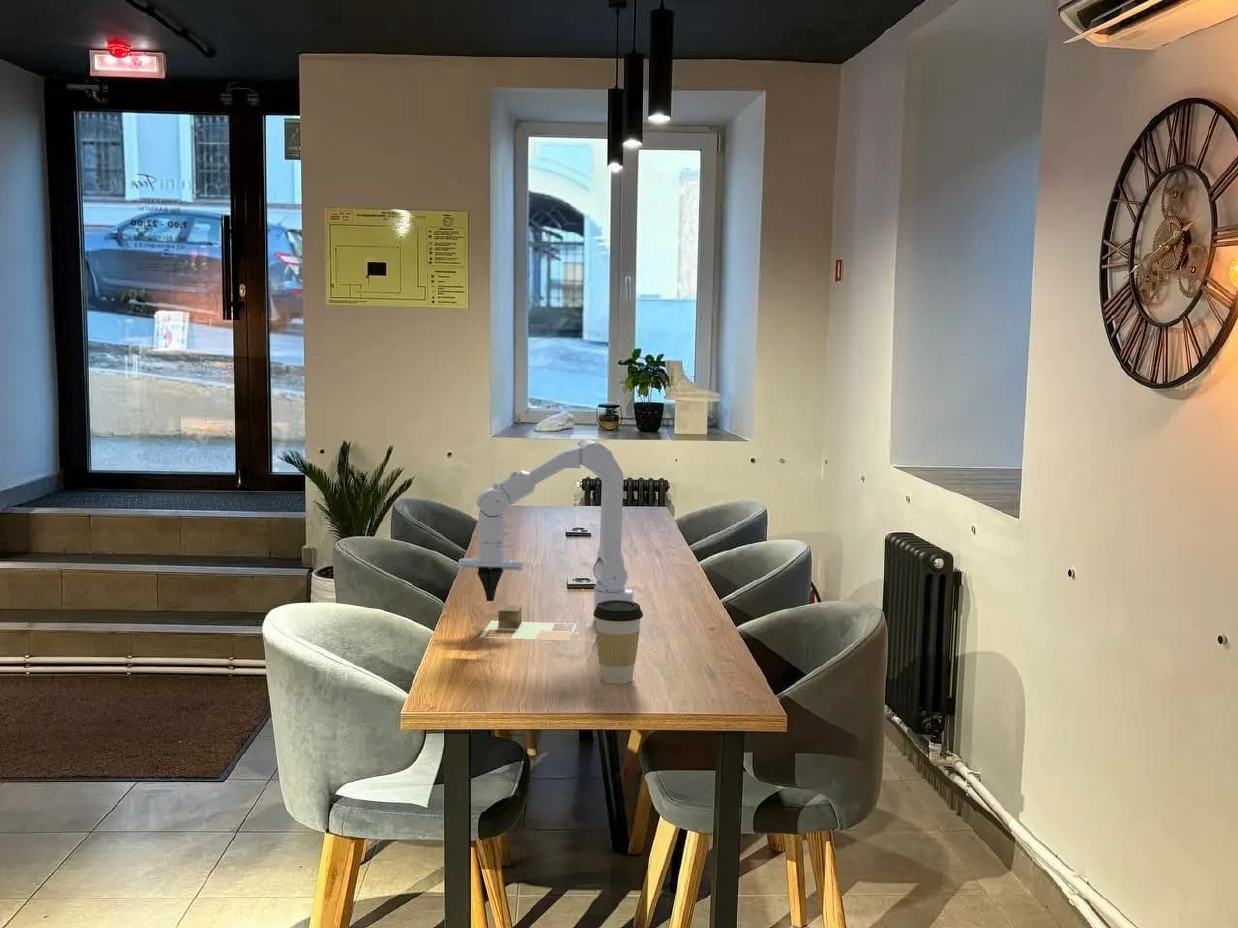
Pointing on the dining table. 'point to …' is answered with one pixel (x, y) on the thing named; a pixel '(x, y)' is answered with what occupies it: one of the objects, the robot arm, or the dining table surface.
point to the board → (533, 631)
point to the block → (509, 616)
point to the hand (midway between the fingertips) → (490, 600)
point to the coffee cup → (617, 639)
